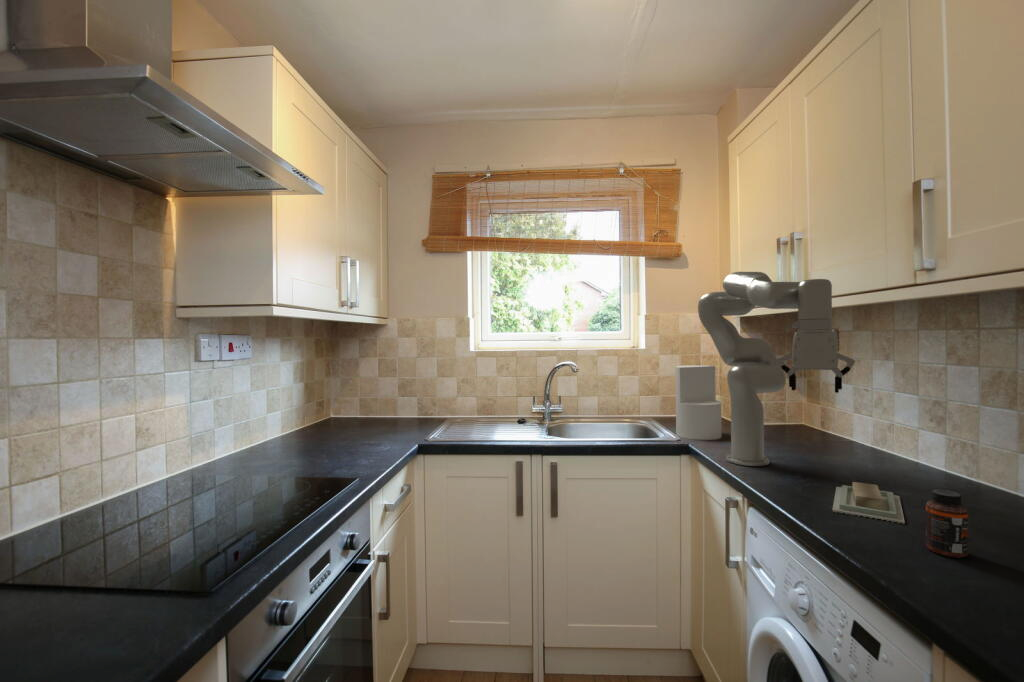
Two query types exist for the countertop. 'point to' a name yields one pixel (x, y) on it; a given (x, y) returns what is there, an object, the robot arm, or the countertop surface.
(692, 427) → the grey stepped piece
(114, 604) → the countertop surface
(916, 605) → the countertop surface
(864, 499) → the birch tile
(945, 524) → the supplement bottle
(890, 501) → the white flat rectangular tray
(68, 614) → the countertop surface
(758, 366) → the robot arm
